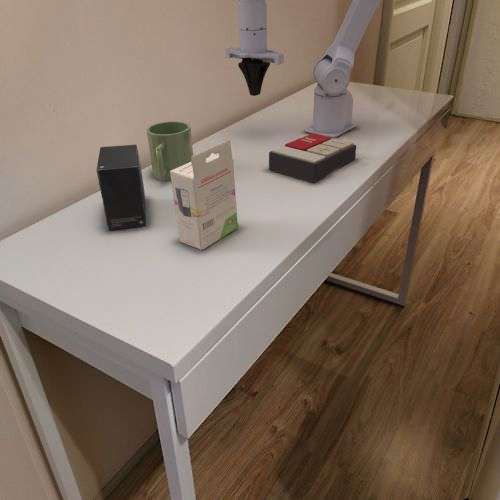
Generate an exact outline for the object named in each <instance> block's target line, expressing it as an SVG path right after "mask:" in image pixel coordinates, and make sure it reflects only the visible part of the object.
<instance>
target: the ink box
mask: <svg viewBox="0 0 500 500" xmlns="http://www.w3.org/2000/svg"><path fill="white" fill-rule="evenodd" d="M170 175H171V180H170V182H171V190H172V195H173V202H174V211H175V216H176V224H177V231H178V237H179V242H180V243H183V244H185V245H188V246H190V247H193V248H195V249H197V250H201V251H203V250H205V249H207V248H208V247H209V246H211V245H213V244H215V243H216V242H218V241H219V240H221V239H223V238H224V237H226V236H227V235H229V234H231V233H232V232H234V231H235V230H237V229H238V227H239V223H238V210H237V196H236V182H235V181H236V180H235V166H234V159H233V151H232V143H231V139H229V138H227V140H225V141H223V142H220V143H217V144H215V145H213V146H210V147H208V148H206V149H204V150H202V151H201V152H198V153H195V154H193V156H192V157H191V162H189V163H187V164H185V165H183V166H180V167H178V168H176V169H173V170H171V171H170Z"/></svg>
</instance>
